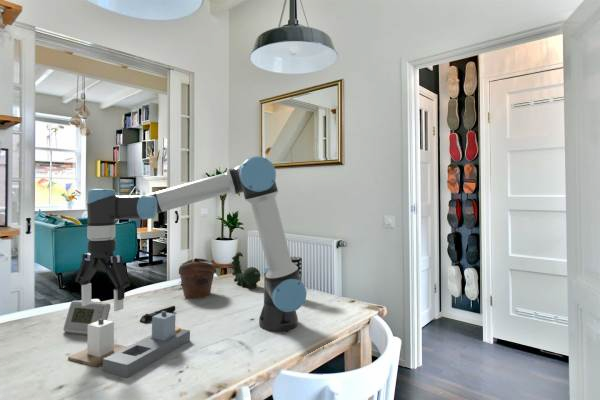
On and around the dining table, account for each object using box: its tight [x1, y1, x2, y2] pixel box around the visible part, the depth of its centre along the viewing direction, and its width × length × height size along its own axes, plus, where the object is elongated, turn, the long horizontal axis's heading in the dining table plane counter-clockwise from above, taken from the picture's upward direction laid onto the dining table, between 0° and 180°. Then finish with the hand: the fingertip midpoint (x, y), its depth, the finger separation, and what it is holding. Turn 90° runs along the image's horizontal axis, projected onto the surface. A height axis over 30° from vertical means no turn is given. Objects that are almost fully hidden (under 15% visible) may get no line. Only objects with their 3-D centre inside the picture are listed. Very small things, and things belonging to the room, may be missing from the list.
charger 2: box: [151, 311, 176, 341], centre depth 112 cm, size 5×5×10 cm
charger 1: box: [86, 318, 115, 357], centre depth 106 cm, size 5×5×10 cm
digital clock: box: [63, 300, 111, 336], centre depth 123 cm, size 16×9×11 cm, turn 68°
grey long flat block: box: [102, 326, 191, 379], centre depth 107 cm, size 9×26×4 cm, turn 159°
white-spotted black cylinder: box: [290, 256, 303, 279], centre depth 166 cm, size 8×8×20 cm
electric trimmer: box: [139, 305, 176, 324], centre depth 140 cm, size 4×16×3 cm, turn 151°
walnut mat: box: [67, 343, 128, 368], centre depth 106 cm, size 12×12×1 cm
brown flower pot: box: [178, 257, 217, 299], centre depth 172 cm, size 18×20×18 cm
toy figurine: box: [231, 251, 261, 289], centre depth 190 cm, size 9×19×25 cm
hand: (102, 307), depth 106 cm, fingers open, 13 cm apart
